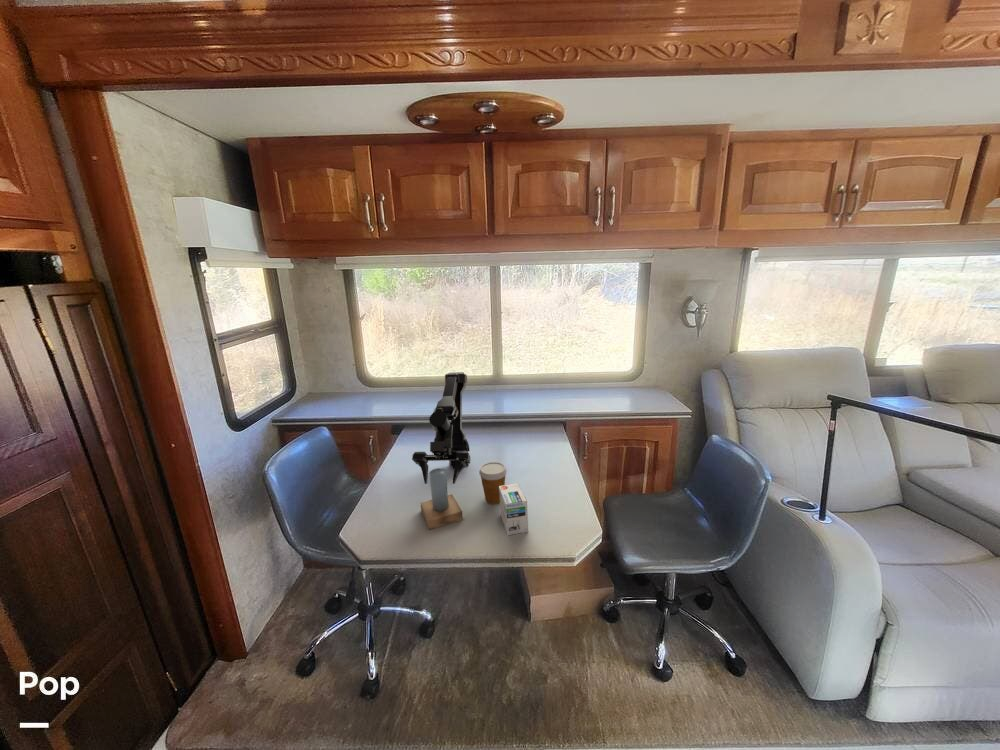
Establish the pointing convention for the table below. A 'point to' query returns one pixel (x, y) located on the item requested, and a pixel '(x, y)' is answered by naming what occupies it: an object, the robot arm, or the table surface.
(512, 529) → the light bulb box
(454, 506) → the walnut base
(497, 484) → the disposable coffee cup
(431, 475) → the slate canister
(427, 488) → the table surface
